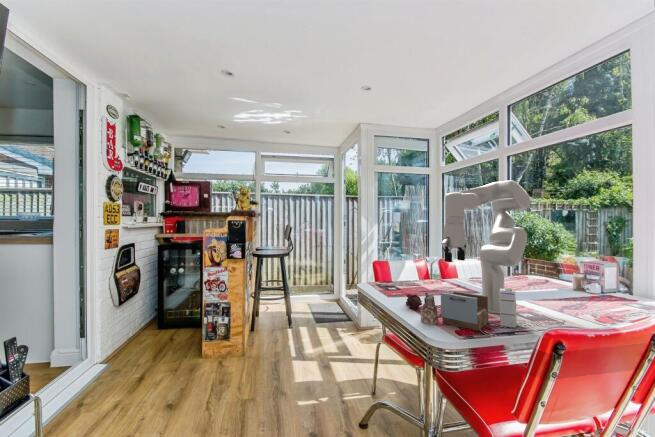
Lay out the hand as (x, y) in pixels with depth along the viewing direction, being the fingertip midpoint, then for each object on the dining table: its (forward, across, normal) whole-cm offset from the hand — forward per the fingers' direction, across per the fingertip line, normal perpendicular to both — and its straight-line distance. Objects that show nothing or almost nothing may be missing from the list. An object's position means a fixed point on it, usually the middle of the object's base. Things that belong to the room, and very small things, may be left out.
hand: (454, 261), depth 126 cm
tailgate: (+23, +4, +4) cm, 24 cm away
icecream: (+26, -3, -24) cm, 36 cm away
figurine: (+26, +8, -7) cm, 29 cm away
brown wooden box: (+26, -3, +3) cm, 26 cm away
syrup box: (+26, -15, +15) cm, 33 cm away
